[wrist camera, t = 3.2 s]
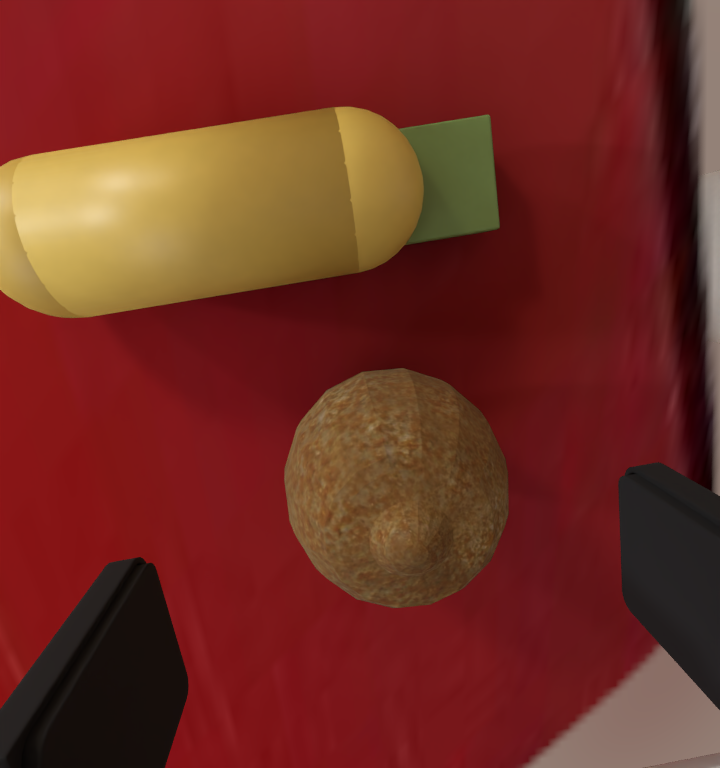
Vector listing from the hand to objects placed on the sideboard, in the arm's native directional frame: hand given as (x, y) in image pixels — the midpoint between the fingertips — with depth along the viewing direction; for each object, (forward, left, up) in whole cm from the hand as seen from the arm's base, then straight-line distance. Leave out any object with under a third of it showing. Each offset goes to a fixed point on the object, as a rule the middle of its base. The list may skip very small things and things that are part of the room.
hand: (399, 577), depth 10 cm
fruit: (0, 0, -9) cm, 9 cm away
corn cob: (+2, -8, -9) cm, 12 cm away
